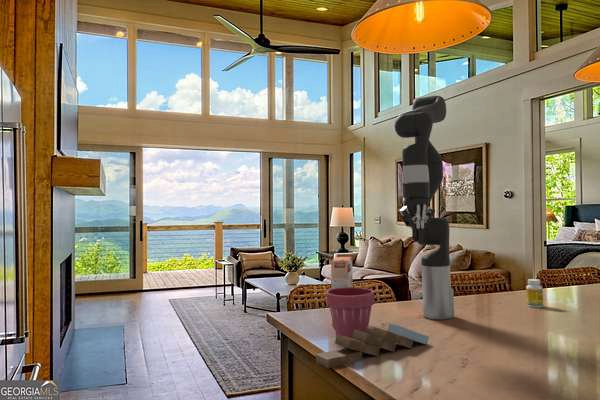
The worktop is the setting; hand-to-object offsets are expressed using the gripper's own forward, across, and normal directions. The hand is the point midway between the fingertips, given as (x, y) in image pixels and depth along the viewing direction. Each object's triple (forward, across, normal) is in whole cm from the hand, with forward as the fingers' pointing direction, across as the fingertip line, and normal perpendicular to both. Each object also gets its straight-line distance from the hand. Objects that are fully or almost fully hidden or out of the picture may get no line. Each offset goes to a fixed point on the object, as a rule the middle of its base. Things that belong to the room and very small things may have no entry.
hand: (417, 241), depth 136 cm
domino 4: (+26, +11, +5) cm, 28 cm away
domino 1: (+26, +28, +5) cm, 38 cm away
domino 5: (+26, +5, +5) cm, 27 cm away
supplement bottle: (+27, -62, -4) cm, 68 cm away
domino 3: (+26, +16, +4) cm, 31 cm away
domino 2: (+26, +22, +5) cm, 34 cm away
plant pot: (+27, +15, -13) cm, 34 cm away
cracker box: (+27, +7, -28) cm, 39 cm away
